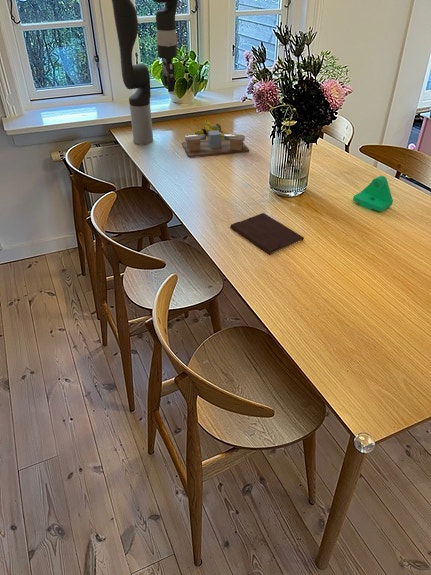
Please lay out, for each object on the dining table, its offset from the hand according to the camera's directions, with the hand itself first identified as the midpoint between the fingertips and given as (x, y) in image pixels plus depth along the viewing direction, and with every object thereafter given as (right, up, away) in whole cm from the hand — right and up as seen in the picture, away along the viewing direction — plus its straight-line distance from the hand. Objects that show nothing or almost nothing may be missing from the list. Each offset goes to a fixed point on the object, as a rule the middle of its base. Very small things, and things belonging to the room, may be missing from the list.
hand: (169, 88), depth 178 cm
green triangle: (+76, -49, -14) cm, 91 cm away
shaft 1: (+10, -13, +23) cm, 28 cm away
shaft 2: (+27, -13, +24) cm, 38 cm away
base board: (+18, -15, +28) cm, 36 cm away
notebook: (+35, -62, -30) cm, 77 cm away
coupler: (+18, -14, +27) cm, 36 cm away
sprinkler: (+16, -5, +42) cm, 45 cm away
